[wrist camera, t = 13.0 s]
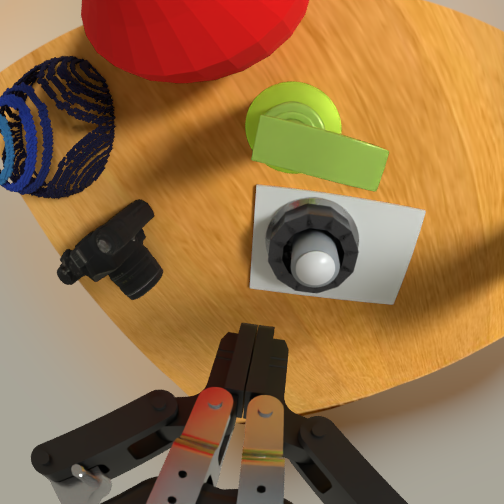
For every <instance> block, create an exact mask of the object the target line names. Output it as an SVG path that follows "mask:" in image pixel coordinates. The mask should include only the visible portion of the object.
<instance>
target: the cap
mask: <svg viewBox="0 0 504 504" xmlns="http://www.w3.org/2000/svg"><path fill="white" fill-rule="evenodd" d="M339 269H340V264H339V258H338V253H337V248H336V244H335V239H334V236H333V234H331V233H330V232H329V231H327V230H321V229H314V228H308V229H306V230H303V231H300V232H297V233H295V235H294V237H293V241H292V256H291V272H292V275H293V277H294V278H295V279H296V280H297V281H298V282H299V283H300V284H302V285H304V286H307V287H322V286H325V285H327V284H329V283H330V282H332V281H333V280H334V279H335V278H336V276H337V275H338V273H339Z"/></svg>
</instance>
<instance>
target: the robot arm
mask: <svg viewBox="0 0 504 504" xmlns="http://www.w3.org/2000/svg"><path fill="white" fill-rule="evenodd" d="M257 327H258V331H257ZM274 329H275V327H269V326H262V325H259V326H258V325H254V324H248V323H241V326H240V330H239V334H237V333H231V332H228V333H227V334H226V335H225V336H224V337H223V338H222V339H221V342H220V345H219V348H218V351H217V354H216V358H215V361H214V364H213V367H212V370H211V373H210V377H209V380H208V383H207V385H206V387H205V389H204V390H203V391H202V392H200V393H199V394H197V395H194V396H190V397H174V395H173V394H171V393H170V392H168V391H165V390H154V391H151V392H149V393H148V394H146V395H144V396H142V397H140V398H138V399H136V400H134V401H132V402H130V403H128V404H126V405H124V406H122V407H120V408H118V409H116V410H114V411H112V412H111V413H108V414H107V415H104V416H102V417H100V418H98V419H96V420H94V421H92V422H90V423H88V424H85V425H84V426H81V427H79V428H77V429H75V430H72V431H70V432H68V433H66V434H64V435H61V436H59V437H56V438H54V439H52V440H50V441H47V442H45V443H42V444H40V445H38V446H36V447H35V448H34V450H33V451H32V454H31V462H32V465H33V467H34V468H35V470H36V471H38V472H39V473H41V474H42V475H44V476H45V477H46V478H47V479H49V480H50V482H51V484H52V486H53V488H54V490H55V492H56V494H57V496H58V498H59V500H60V502H61V504H99V503H100V501H101V499H102V498H103V497H105V496H106V495H107V494H109V492H110V490H111V487H112V483H111V479H113V478H115V477H117V476H119V475H121V474H123V473H125V472H127V471H129V470H131V469H133V468H135V467H137V466H139V465H141V464H143V463H144V462H146V461H148V460H150V459H152V458H153V457H155V456H157V455H159V454H161V453H163V452H164V451H166V450H168V449H169V448H171V449H170V451H169V453H168V456H167V458H166V460H165V462H164V465H163V467H162V469H161V471H160V474H159V476H158V477H153V478H149V479H147V480H145V481H142V482H141V483H139V484H137V485H135V486H133V487H132V488H130V489H128V490H126V491H124V492H122V493H121V494H119V495H117V496H115V497H113V498H111V499H109V500H107V501H105V502H103V503H101V504H293V503H292V502H290V501H288V500H286V499H284V474H285V472H284V471H285V459H284V457H285V458H288V459H289V460H290V462H291V463H292V464H293V466H294V467H295V468H296V470H297V471H298V472H299V473H300V475H301V476H302V477H303V479H304V480H305V481H306V482H307V483H308V485H309V486H310V487H311V488H312V490H313V491H314V492H315V493H316V495H317V496H318V497H319V498H320V499H321V501H322V502H323V503H324V504H408V503H407V502H406V501H405V500H404V499H403V498H402V497H401V496H400V495H399V494H398V493H397V492H396V491H395V490H394V489H393V488H392V487H391V486H390V485H389V484H388V483H387V482H386V480H385V479H383V477H382V476H381V475H380V474H379V473H378V472H377V471H376V470H375V469H374V468H373V467H372V466H371V465H370V463H369V462H368V461H367V460H366V459H365V458H364V457H363V456H362V455H361V454H360V453H359V451H358V450H357V449H356V448H355V447H354V446H353V445H352V444H351V443H350V442H349V440H348V439H347V438H346V437H345V436H344V435H343V434H342V433H341V431H340V430H339V429H338V428H337V427H336V426H335V425H334V423H333V422H332V421H331V420H329V419H327V418H325V417H321V416H314V417H310V418H308V419H307V418H305V417H303V416H300V415H298V414H295V413H294V412H292V411H291V410H290V409H289V408H288V407H287V405H286V404H285V400H284V393H285V383H286V373H287V362H288V351H289V349H288V347H287V344H286V342H285V340H279V339H273V336H274ZM243 409H244V415H243V418H245V419H246V426H245V435H244V444H243V453H242V461H241V470H240V479H239V488H238V489H226V490H223V489H219V488H217V487H216V485H217V482H218V479H219V475H220V470H221V466H222V463H223V460H224V457H225V454H226V451H227V448H228V445H229V442H230V439H231V436H232V432H233V429H234V426H235V422H236V417H238V418H242V414H243Z"/></svg>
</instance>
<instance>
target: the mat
mask: <svg viewBox="0 0 504 504" xmlns="http://www.w3.org/2000/svg"><path fill="white" fill-rule="evenodd" d="M305 197H320V198H325V199H328V200H331V201H334V202H336V203H338V204H339V205H341V206H342V207H343V208H344V209H346V210H347V211H348V213H349V214H350V215H351V216H352V218H353V220H354V221H355V224H356V226H357V229H358V233H359V246H358V251H359V253H358V257H357V261H356V265H355V268H354V272H353V273H352V274H351V275H350V276H349V277H348V278H347V279H346V280H345V281H344V282H343V283H342V284H341V285H340V286H339V287H336V288H333V289H330V290H327V291H324V292H320V293H309V292H301V291H295V290H293V289H292V288H290V287H288V286H287V285H285V284H284V283H282V282H281V281H279V280H277V278H276V276H275V274H274V272H273V270H272V268H271V266H270V265H269V263H268V254H267V250H266V244H265V237H266V231H267V228H268V225H269V223H270V221H271V219H272V217H273V216H274V215H275V213H276V212H277V211H278V210H279V209H281V208H282V207H283V206H284V205H286V204H288V203H289V202H292V201H294V200H297V199H300V198H305ZM425 212H426V211H425V210H423V209H418V208H413V207H408V206H402V205H397V204H392V203H386V202H381V201H375V200H369V199H363V198H357V197H351V196H344V195H338V194H331V193H324V192H317V191H310V190H302V189H294V188H286V187H277V186H268V185H259V184H257V185H256V200H255V215H254V230H253V245H252V260H251V275H250V288H252V289H260V290H267V291H275V292H282V293H290V294H298V295H306V296H315V297H323V298H332V299H341V300H350V301H360V302H370V303H380V304H390V305H393V304H394V301H395V299H396V297H397V294H398V292H399V289H400V287H401V284H402V281H403V279H404V276H405V273H406V271H407V268H408V265H409V262H410V260H411V257H412V254H413V251H414V248H415V245H416V242H417V239H418V236H419V232H420V229H421V226H422V223H423V219H424V216H425Z"/></svg>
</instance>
